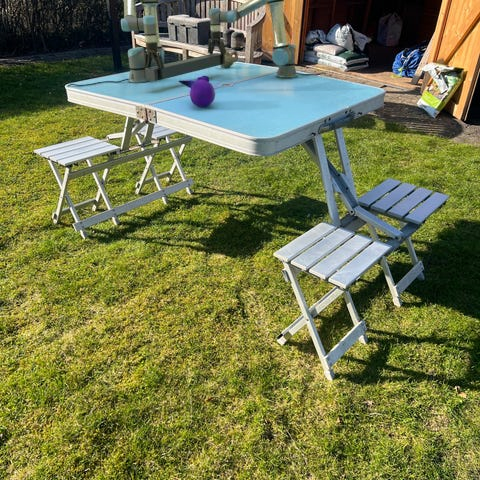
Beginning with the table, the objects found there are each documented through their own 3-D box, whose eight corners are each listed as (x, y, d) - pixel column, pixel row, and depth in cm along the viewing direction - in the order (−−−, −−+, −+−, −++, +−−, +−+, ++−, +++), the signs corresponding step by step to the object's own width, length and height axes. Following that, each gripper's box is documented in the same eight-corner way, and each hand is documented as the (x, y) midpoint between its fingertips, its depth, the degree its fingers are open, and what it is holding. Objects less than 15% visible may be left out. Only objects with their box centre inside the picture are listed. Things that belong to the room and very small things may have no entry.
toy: (202, 98, 286) (215, 113, 265) (176, 93, 278) (186, 109, 258) (208, 73, 277) (221, 86, 257) (180, 67, 270) (192, 81, 249)
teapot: (219, 70, 373) (218, 50, 365) (212, 68, 382) (211, 49, 374) (241, 67, 382) (240, 48, 375) (234, 65, 391) (233, 46, 383)
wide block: (155, 81, 297) (153, 69, 293) (146, 79, 302) (145, 68, 298) (225, 63, 347) (224, 53, 344) (216, 62, 352) (216, 52, 348)
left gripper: (167, 42, 287) (170, 79, 299) (144, 40, 298) (148, 75, 310) (159, 44, 282) (162, 81, 294) (135, 41, 293) (140, 77, 305)
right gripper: (230, 31, 332) (231, 63, 344) (207, 30, 343) (209, 61, 355) (224, 32, 327) (225, 65, 338) (201, 31, 338) (203, 63, 349)
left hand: (155, 78), depth 302 cm, fingers closed on wide block, 9 cm apart
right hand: (217, 63), depth 346 cm, fingers closed on wide block, 9 cm apart
